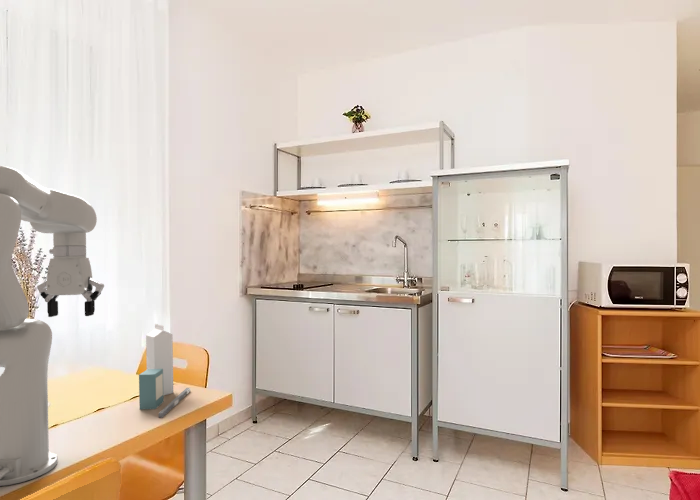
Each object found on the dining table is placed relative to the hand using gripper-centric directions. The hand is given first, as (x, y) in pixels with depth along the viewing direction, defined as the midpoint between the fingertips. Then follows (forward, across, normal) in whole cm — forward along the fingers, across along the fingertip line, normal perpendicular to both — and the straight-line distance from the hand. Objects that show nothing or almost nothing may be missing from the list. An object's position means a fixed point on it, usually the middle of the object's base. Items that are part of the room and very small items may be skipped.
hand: (71, 315), depth 120 cm
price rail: (+28, +24, +11) cm, 38 cm away
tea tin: (+28, +17, +10) cm, 34 cm away
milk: (+28, +15, +21) cm, 38 cm away
